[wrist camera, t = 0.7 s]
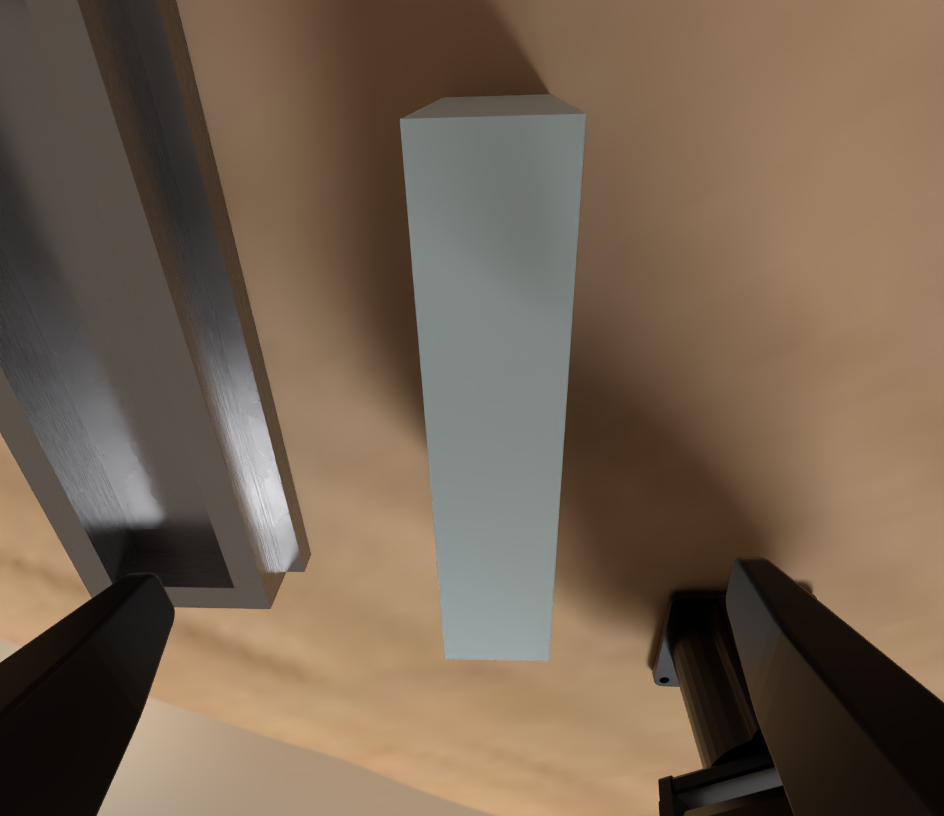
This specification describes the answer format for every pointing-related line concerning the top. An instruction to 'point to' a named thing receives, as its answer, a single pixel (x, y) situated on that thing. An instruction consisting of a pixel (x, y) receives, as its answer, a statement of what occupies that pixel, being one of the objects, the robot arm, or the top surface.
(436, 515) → the door panel
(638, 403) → the top surface
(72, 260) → the floor track
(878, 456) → the top surface
